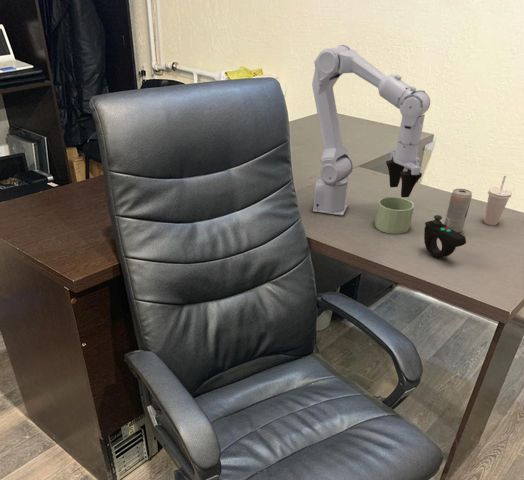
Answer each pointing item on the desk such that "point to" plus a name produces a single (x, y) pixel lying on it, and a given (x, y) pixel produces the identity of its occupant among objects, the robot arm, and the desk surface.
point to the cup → (394, 215)
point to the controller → (441, 238)
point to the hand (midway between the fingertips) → (399, 191)
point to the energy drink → (458, 209)
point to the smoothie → (496, 203)
